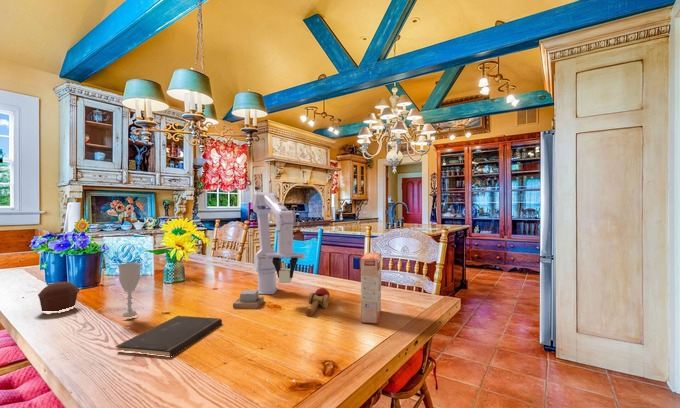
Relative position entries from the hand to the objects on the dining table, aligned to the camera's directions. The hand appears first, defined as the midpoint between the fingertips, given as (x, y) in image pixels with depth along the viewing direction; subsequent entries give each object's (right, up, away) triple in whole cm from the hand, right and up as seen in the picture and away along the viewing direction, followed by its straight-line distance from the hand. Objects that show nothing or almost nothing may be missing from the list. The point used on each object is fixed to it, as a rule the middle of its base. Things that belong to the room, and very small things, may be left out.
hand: (285, 277), depth 120 cm
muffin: (-81, -11, -6) cm, 82 cm away
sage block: (0, -2, 0) cm, 2 cm away
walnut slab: (-14, -11, 0) cm, 18 cm away
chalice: (-50, -11, -14) cm, 53 cm away
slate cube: (-14, -9, 0) cm, 16 cm away
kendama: (+13, -11, -4) cm, 17 cm away
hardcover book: (-27, -11, -29) cm, 41 cm away
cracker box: (+32, -10, -13) cm, 36 cm away
